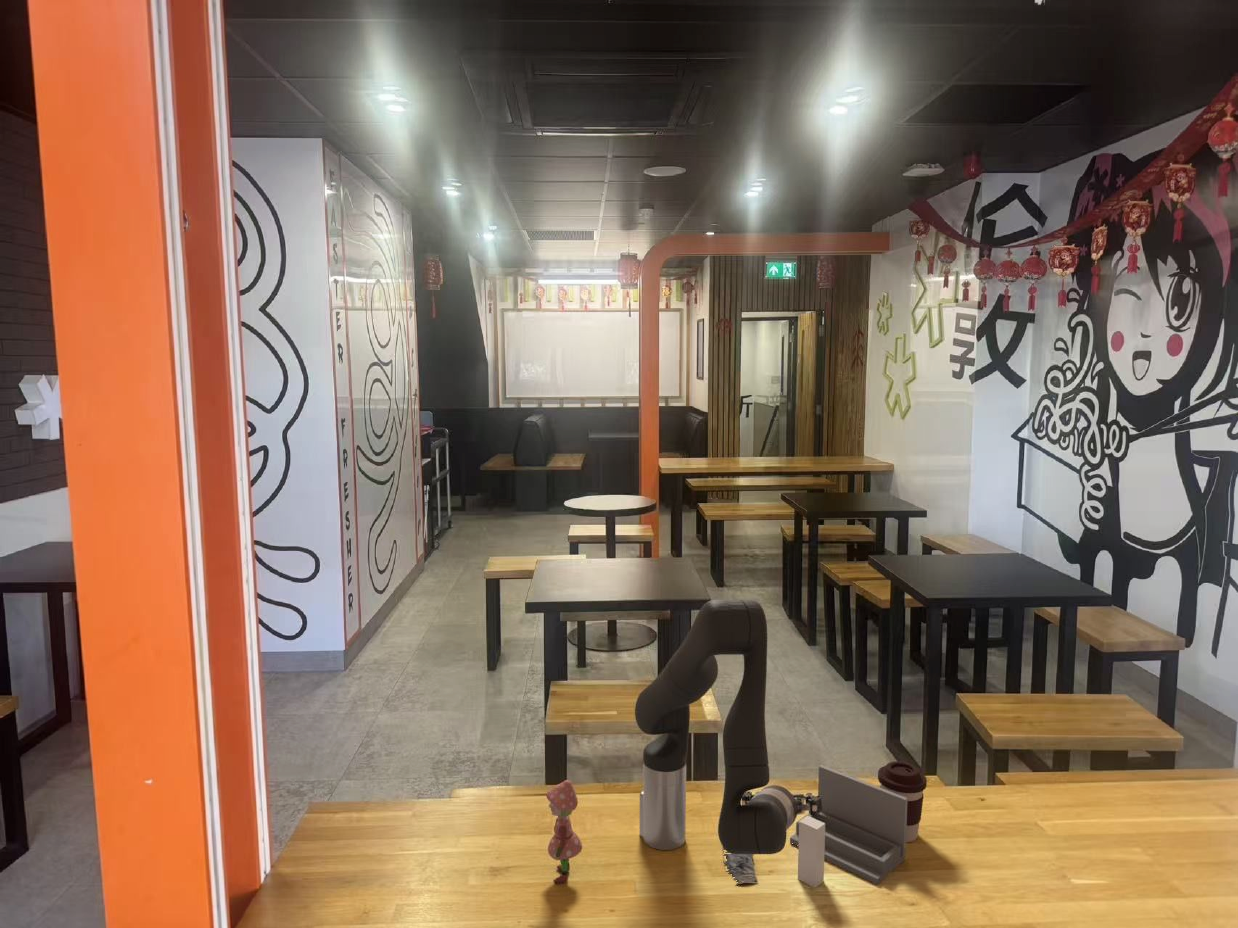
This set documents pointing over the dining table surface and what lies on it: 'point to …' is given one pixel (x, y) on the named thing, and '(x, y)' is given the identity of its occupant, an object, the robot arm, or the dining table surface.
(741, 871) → the driftwood
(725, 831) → the robot arm
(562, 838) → the cartoon character
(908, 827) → the coffee cup
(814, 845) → the clay bar
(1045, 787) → the dining table surface
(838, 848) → the grey desk organizer
